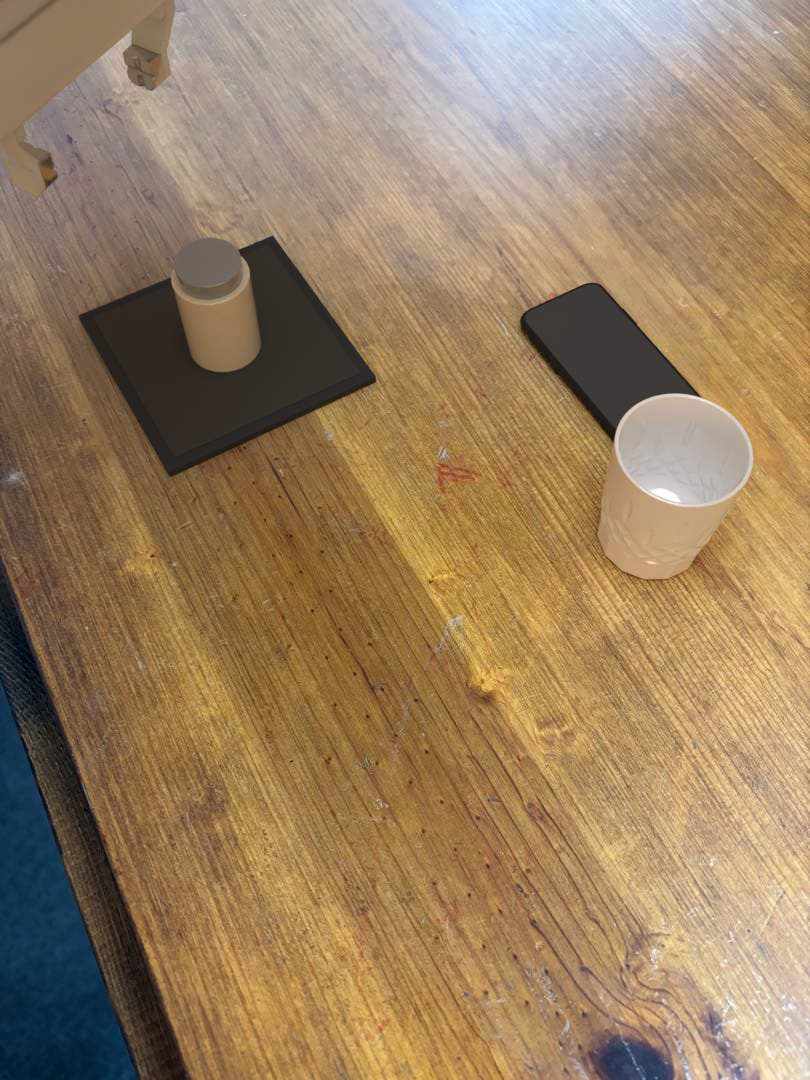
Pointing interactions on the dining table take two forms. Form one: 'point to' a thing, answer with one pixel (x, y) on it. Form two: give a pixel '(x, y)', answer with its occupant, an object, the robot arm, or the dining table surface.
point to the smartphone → (601, 352)
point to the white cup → (670, 483)
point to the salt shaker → (216, 305)
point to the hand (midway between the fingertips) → (96, 130)
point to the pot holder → (226, 397)
